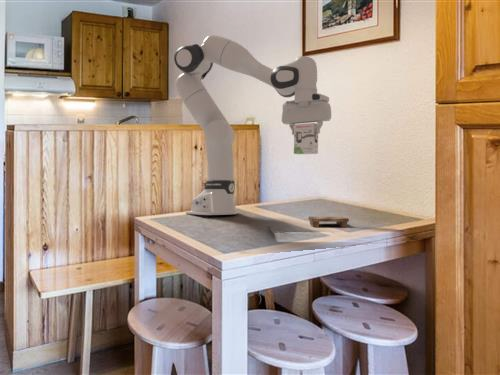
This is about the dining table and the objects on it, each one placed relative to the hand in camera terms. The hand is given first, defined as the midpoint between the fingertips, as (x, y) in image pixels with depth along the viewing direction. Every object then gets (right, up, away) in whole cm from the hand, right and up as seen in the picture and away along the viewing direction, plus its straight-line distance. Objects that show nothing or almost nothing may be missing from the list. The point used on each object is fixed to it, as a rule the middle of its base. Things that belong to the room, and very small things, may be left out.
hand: (305, 134), depth 174 cm
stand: (+7, -35, -11) cm, 37 cm away
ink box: (0, -8, 0) cm, 8 cm away
